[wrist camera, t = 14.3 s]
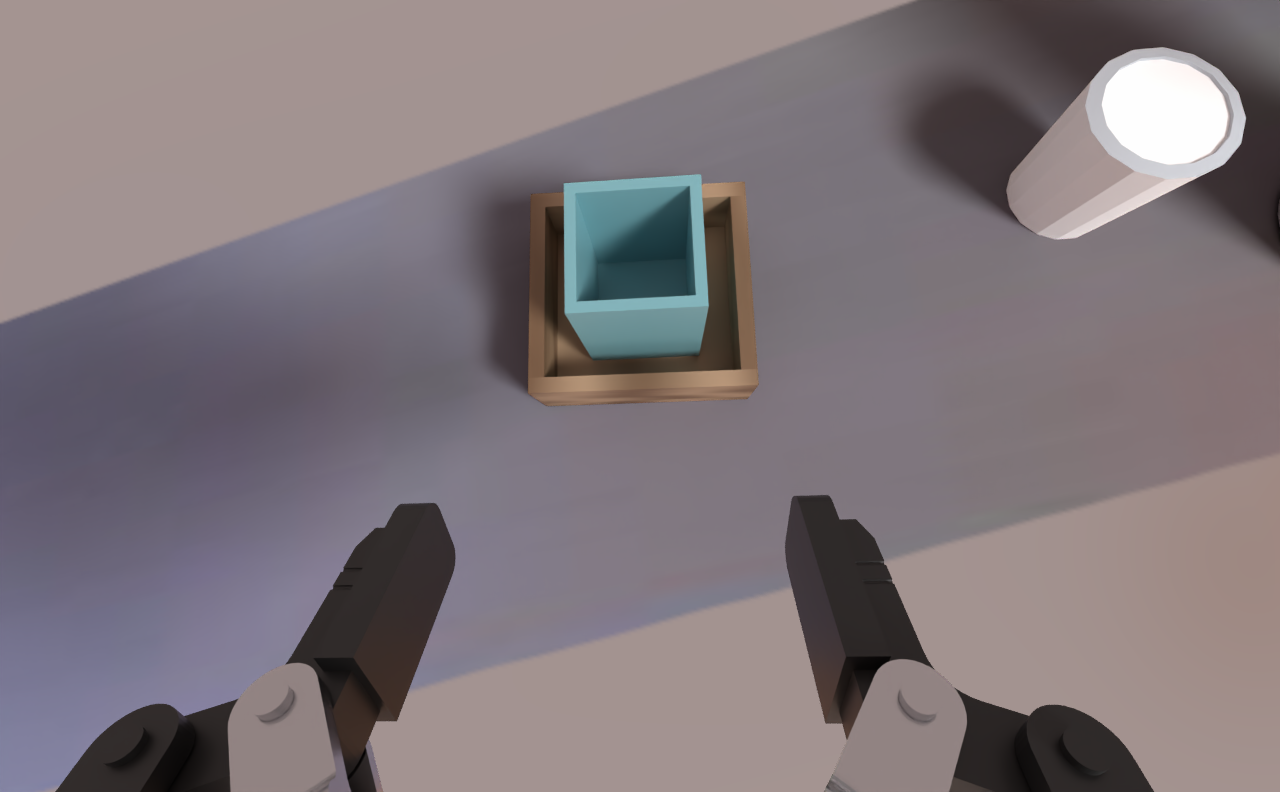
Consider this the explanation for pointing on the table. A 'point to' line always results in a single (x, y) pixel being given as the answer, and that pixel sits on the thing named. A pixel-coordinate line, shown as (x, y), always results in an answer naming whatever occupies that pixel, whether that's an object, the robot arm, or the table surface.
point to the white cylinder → (1127, 142)
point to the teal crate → (636, 266)
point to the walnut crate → (713, 375)
